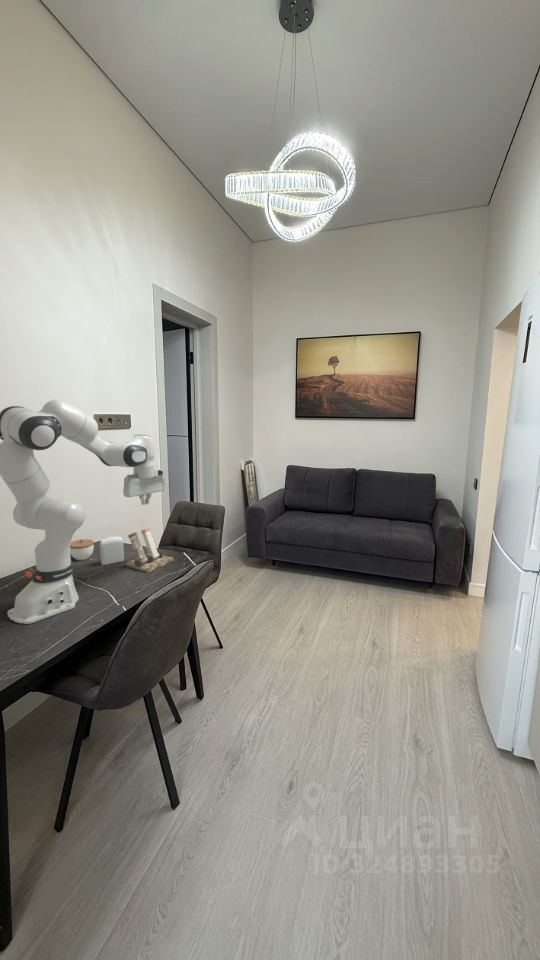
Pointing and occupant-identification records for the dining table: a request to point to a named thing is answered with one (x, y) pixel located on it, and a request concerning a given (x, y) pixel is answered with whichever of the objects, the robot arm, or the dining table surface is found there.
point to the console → (145, 557)
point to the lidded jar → (81, 549)
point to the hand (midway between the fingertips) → (145, 504)
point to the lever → (150, 543)
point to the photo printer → (111, 550)
